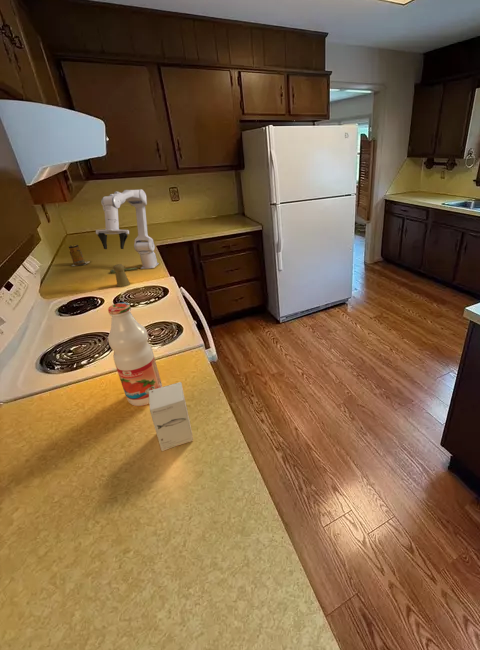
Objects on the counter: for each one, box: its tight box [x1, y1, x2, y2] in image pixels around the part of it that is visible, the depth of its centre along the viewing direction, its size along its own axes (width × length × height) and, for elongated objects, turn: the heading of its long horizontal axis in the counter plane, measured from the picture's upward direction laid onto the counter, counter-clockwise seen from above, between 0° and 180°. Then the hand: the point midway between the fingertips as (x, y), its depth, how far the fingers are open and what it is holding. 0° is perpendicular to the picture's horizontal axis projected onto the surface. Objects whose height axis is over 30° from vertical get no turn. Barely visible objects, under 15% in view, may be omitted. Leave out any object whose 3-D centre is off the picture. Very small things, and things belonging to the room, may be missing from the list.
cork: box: [112, 263, 131, 288], centre depth 170 cm, size 6×6×11 cm
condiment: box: [68, 244, 91, 267], centre depth 206 cm, size 7×8×12 cm
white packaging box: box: [148, 381, 194, 452], centre depth 76 cm, size 7×7×13 cm
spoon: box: [109, 267, 139, 274], centre depth 193 cm, size 15×4×1 cm, turn 107°
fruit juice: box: [107, 301, 163, 407], centre depth 87 cm, size 9×9×28 cm
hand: (113, 248), depth 162 cm, fingers open, 7 cm apart
